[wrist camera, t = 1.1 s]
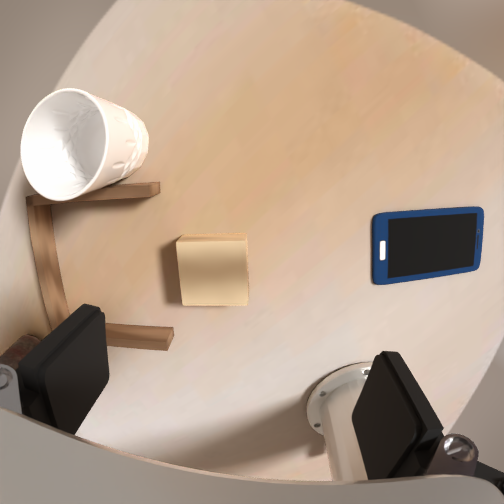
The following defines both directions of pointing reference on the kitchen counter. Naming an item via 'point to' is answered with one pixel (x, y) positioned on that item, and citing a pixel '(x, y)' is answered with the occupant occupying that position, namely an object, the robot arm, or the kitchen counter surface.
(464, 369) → the kitchen counter surface
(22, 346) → the candle
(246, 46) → the kitchen counter surface
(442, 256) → the cell phone
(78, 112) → the white cup
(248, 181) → the kitchen counter surface
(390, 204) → the kitchen counter surface
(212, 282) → the tan square block
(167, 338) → the corral
